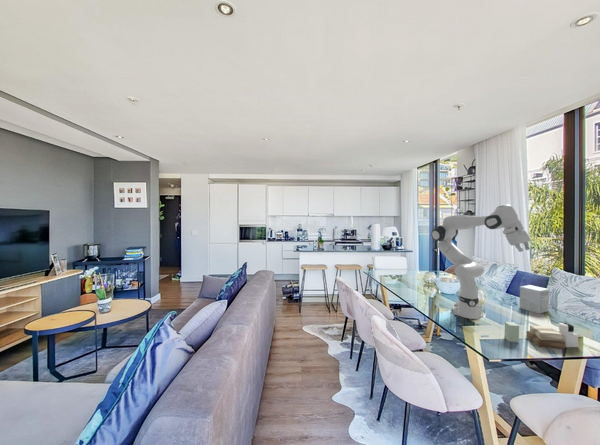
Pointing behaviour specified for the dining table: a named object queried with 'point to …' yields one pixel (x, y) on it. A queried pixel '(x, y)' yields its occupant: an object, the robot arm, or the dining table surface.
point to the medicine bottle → (568, 335)
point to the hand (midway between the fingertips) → (524, 250)
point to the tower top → (545, 333)
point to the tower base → (545, 342)
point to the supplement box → (534, 298)
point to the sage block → (511, 332)
